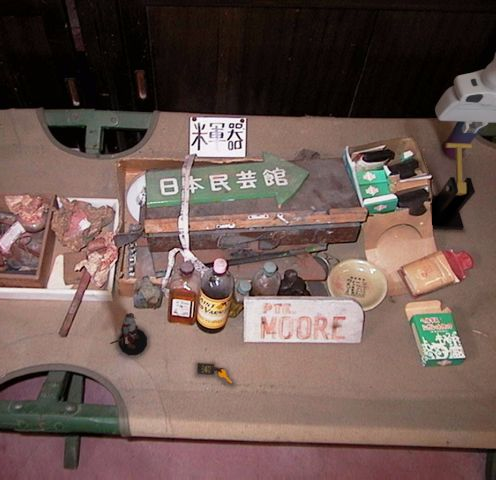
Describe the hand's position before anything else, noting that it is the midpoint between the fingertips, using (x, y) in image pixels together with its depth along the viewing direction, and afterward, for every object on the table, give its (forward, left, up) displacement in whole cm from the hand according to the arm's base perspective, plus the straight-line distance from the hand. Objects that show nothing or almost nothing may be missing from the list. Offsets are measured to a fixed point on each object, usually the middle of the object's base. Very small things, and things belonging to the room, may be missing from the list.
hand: (468, 131), depth 127 cm
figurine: (+79, +49, -21) cm, 95 cm away
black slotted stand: (0, +10, -21) cm, 23 cm away
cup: (-8, -12, -21) cm, 26 cm away
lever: (0, +5, -9) cm, 10 cm away
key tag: (+60, +56, -21) cm, 85 cm away
